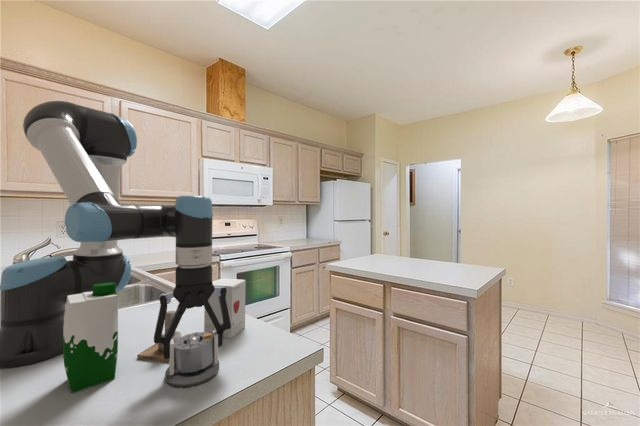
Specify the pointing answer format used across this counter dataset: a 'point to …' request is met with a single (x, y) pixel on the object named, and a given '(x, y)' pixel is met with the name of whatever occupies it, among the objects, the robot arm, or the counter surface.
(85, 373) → the milk carton
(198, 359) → the clutch ring
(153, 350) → the stand
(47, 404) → the counter surface
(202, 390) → the counter surface
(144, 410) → the counter surface
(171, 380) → the disc
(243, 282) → the supplement box
